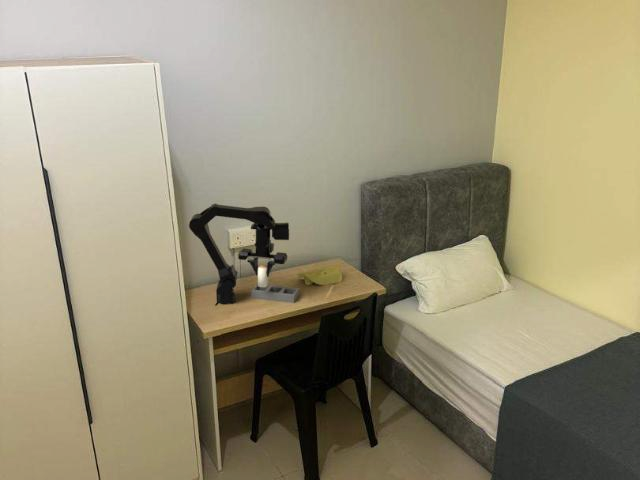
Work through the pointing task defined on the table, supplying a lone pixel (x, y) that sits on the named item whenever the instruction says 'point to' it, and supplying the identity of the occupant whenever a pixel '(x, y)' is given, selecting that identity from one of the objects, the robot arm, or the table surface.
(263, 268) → the plug
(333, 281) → the plastic component
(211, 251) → the robot arm
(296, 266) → the table surface
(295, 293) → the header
